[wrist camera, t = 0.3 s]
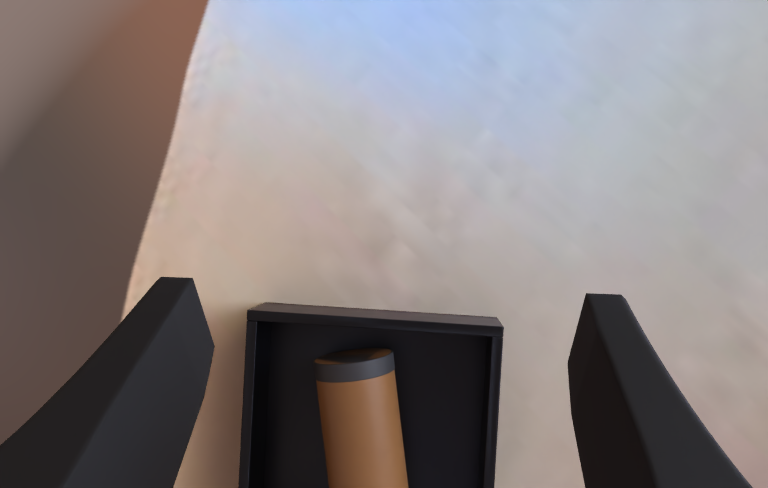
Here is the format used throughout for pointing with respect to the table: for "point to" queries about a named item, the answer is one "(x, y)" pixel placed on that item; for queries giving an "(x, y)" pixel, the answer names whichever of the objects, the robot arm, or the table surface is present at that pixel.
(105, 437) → the robot arm
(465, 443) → the tray
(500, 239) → the table surface
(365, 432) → the tube
